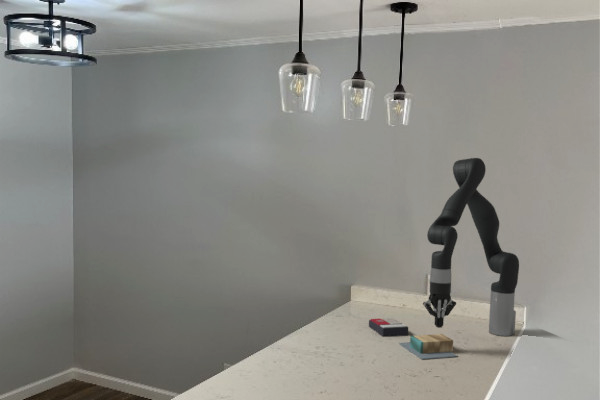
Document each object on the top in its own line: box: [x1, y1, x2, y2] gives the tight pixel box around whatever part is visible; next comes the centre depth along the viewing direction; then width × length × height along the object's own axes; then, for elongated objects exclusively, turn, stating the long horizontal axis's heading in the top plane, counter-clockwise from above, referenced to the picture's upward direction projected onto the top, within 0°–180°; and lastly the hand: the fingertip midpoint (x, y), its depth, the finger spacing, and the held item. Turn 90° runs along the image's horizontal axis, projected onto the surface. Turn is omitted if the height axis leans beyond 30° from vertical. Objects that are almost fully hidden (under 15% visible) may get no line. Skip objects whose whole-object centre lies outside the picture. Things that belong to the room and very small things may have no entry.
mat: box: [398, 341, 458, 360], centre depth 218 cm, size 14×18×1 cm
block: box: [409, 333, 454, 354], centre depth 218 cm, size 4×8×13 cm
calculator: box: [368, 317, 409, 338], centre depth 242 cm, size 11×4×15 cm
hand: (438, 327), depth 218 cm, fingers closed
